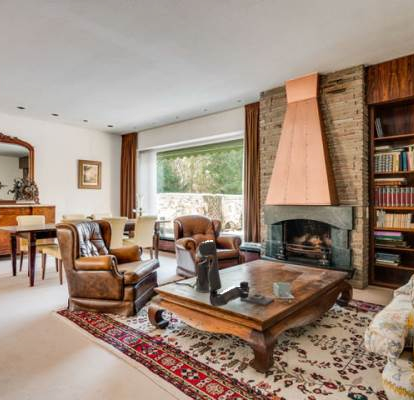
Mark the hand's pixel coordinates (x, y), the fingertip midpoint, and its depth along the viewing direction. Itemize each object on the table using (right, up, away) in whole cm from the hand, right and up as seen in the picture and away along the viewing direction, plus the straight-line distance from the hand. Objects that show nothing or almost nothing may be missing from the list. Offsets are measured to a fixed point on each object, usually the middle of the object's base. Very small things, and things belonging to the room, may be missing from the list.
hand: (246, 287), depth 209 cm
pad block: (-2, -6, -2) cm, 7 cm away
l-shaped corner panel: (+31, -10, +15) cm, 36 cm away
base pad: (+8, -10, +4) cm, 13 cm away
